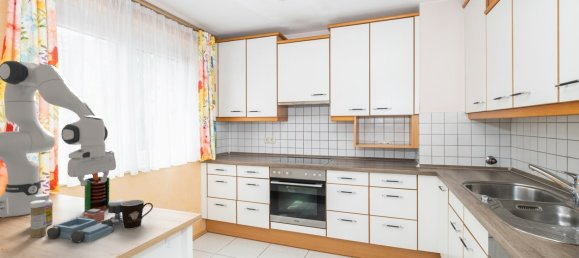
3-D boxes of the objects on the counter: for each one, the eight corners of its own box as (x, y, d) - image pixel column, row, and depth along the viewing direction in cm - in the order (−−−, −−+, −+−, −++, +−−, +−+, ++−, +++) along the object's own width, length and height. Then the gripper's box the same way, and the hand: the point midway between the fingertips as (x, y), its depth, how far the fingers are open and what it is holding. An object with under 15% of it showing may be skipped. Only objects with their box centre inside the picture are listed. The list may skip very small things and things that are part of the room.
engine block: (83, 222, 122) (83, 211, 122) (93, 218, 127) (93, 207, 127) (94, 224, 120) (93, 212, 120) (104, 220, 125) (104, 209, 125)
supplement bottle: (39, 228, 114) (39, 197, 114) (27, 227, 116) (27, 196, 115) (56, 223, 121) (56, 193, 120) (44, 221, 122) (44, 192, 122)
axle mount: (106, 223, 121) (106, 212, 120) (118, 219, 126) (118, 208, 126) (117, 225, 119) (117, 214, 119) (128, 220, 125) (128, 210, 125)
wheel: (104, 212, 120) (104, 203, 120) (118, 207, 127) (118, 199, 127) (117, 214, 118) (117, 204, 118) (130, 209, 125) (130, 200, 125)
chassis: (43, 237, 106) (42, 227, 106) (79, 224, 119) (79, 215, 119) (83, 244, 101) (83, 233, 101) (116, 229, 114) (116, 220, 114)
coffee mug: (117, 230, 113) (117, 206, 113) (124, 223, 122) (124, 200, 121) (149, 228, 116) (149, 204, 116) (153, 220, 125) (153, 198, 124)
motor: (94, 214, 133) (94, 172, 132) (79, 212, 134) (78, 171, 134) (112, 207, 143) (112, 168, 142) (97, 206, 144) (97, 168, 144)
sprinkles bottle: (36, 233, 109) (36, 199, 109) (49, 233, 110) (49, 199, 109) (27, 238, 105) (26, 203, 104) (40, 238, 105) (39, 202, 105)
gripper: (108, 149, 134) (109, 178, 134) (64, 154, 114) (65, 188, 114) (119, 150, 132) (119, 179, 132) (76, 155, 112) (77, 189, 113)
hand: (94, 183), depth 123 cm, fingers open, 8 cm apart
